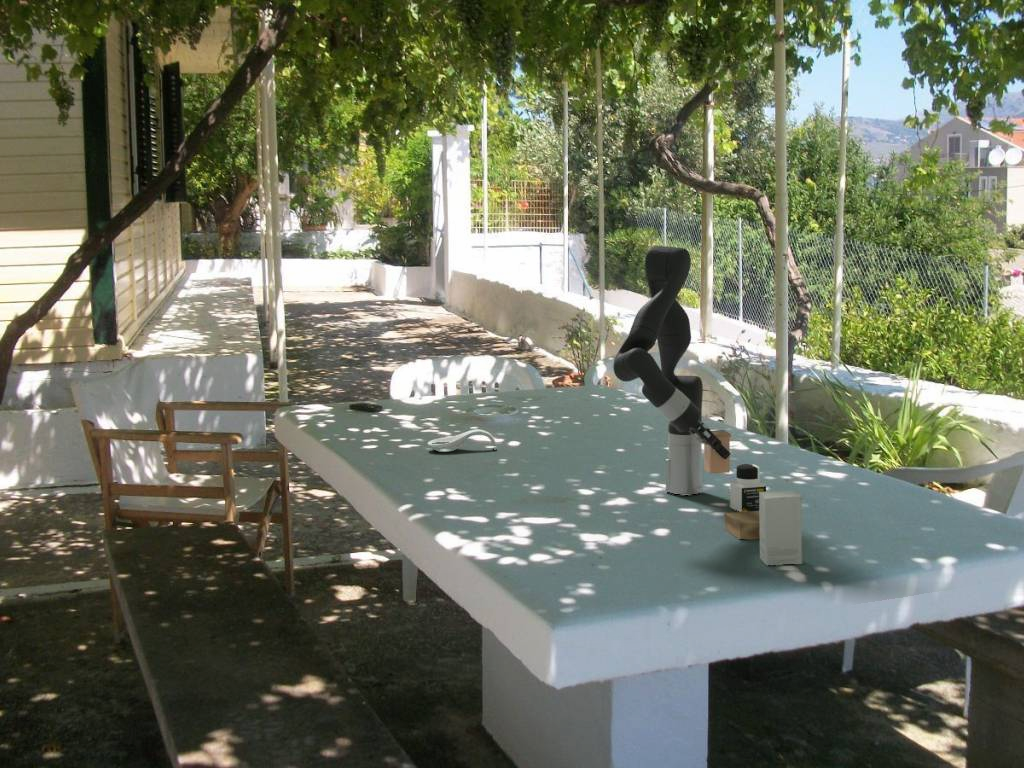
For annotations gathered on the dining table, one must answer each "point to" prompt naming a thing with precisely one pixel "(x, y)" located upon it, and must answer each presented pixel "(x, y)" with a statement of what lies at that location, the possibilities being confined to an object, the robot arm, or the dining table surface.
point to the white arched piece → (459, 439)
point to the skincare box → (780, 527)
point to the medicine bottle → (746, 489)
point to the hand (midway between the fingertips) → (723, 454)
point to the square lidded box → (712, 458)
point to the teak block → (743, 524)
